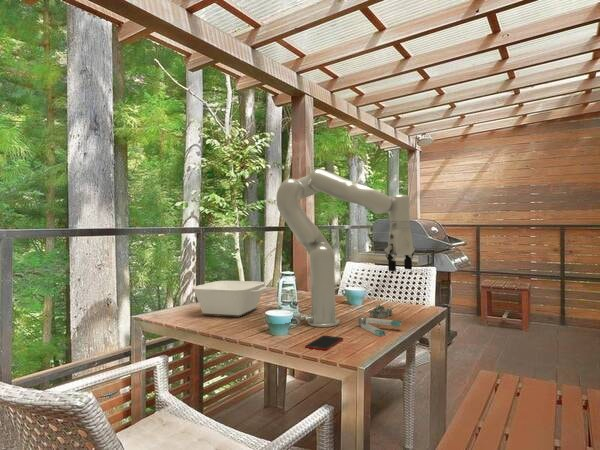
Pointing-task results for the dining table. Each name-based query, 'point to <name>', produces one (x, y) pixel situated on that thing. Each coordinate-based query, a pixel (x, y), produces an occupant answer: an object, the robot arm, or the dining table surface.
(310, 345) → the cell phone
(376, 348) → the dining table surface
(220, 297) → the tub
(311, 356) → the dining table surface
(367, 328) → the tongs lower
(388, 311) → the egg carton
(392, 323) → the tongs upper arm
